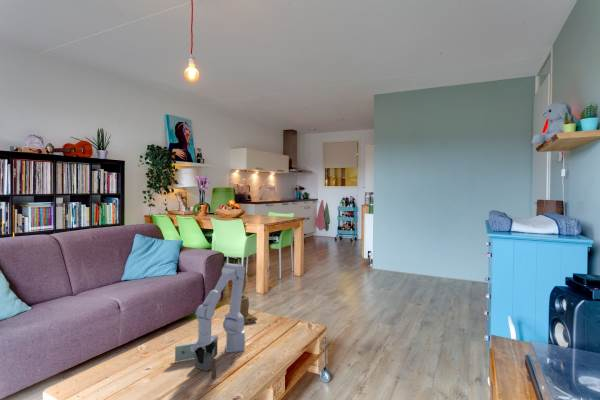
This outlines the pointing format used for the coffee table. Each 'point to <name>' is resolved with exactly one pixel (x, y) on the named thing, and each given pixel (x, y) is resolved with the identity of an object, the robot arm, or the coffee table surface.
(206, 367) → the block
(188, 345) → the door
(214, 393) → the coffee table surface
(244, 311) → the brown boot
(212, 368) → the door frame
